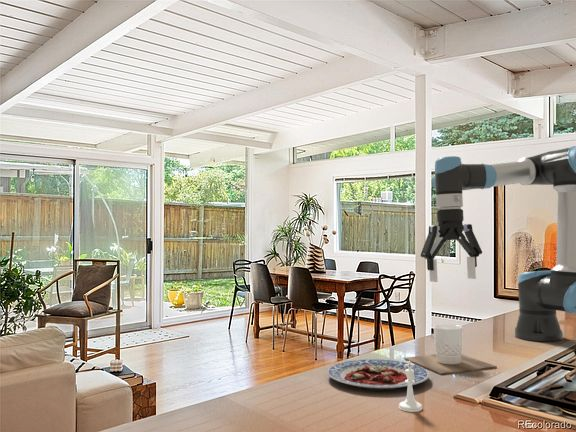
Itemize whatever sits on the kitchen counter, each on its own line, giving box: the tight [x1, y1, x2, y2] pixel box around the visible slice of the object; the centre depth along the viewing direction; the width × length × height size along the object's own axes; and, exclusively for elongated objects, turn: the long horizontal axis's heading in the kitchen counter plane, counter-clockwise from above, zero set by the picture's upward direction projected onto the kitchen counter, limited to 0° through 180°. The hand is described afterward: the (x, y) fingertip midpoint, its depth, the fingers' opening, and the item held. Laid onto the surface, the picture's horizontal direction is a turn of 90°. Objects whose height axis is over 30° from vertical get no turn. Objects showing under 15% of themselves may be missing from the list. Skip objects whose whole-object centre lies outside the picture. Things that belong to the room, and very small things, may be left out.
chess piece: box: [398, 361, 423, 413], centre depth 111 cm, size 5×5×10 cm
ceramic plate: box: [327, 358, 430, 390], centre depth 133 cm, size 26×26×3 cm
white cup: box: [433, 323, 463, 365], centre depth 147 cm, size 8×8×10 cm
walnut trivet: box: [404, 353, 498, 376], centre depth 147 cm, size 18×18×1 cm
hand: (453, 280), depth 153 cm, fingers open, 13 cm apart
